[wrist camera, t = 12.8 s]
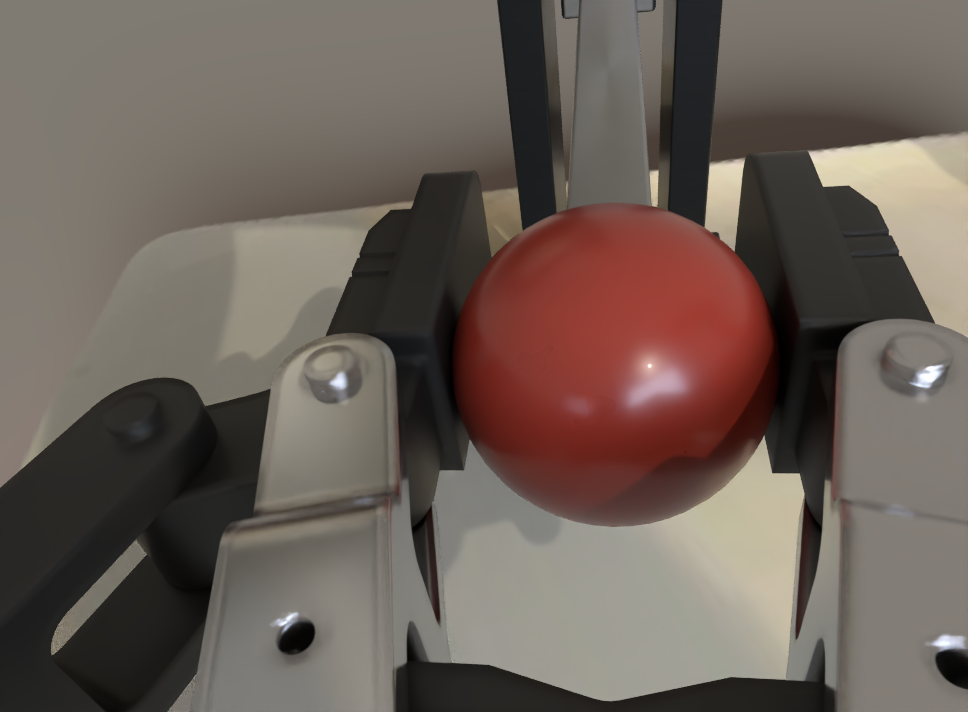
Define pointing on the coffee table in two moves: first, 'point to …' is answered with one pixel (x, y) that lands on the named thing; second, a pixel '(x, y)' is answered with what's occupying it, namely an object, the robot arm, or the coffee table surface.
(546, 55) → the black lever stand
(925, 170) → the coffee table surface
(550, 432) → the red knobbed lever
